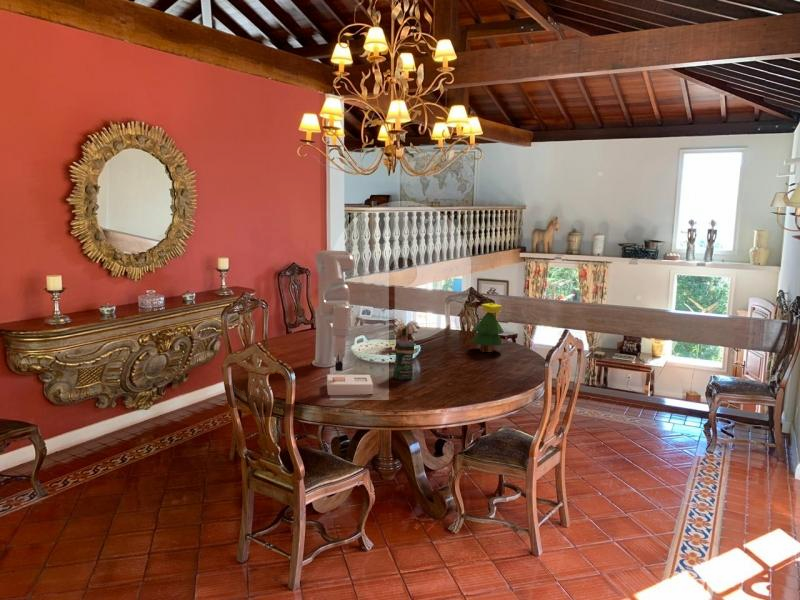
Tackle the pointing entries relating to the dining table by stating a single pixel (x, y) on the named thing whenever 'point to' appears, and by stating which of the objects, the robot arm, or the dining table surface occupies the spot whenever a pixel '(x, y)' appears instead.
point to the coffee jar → (403, 360)
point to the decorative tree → (488, 329)
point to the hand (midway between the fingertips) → (338, 370)
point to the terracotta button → (338, 379)
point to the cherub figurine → (405, 330)
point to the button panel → (349, 385)
